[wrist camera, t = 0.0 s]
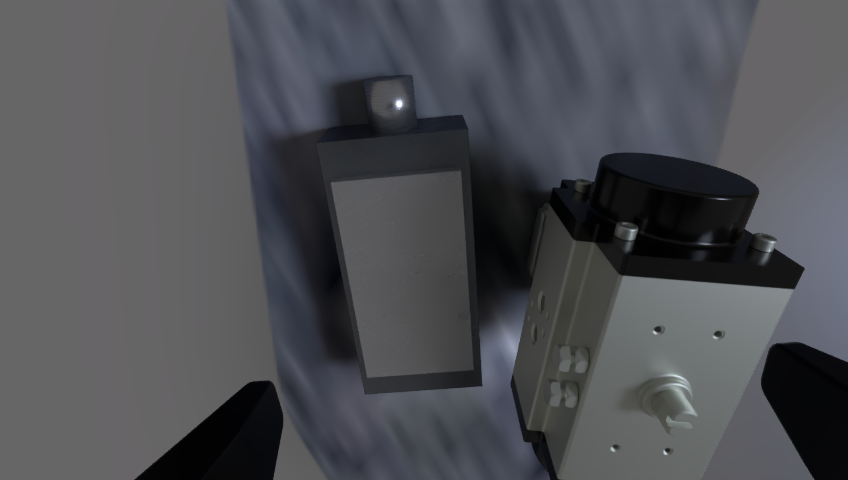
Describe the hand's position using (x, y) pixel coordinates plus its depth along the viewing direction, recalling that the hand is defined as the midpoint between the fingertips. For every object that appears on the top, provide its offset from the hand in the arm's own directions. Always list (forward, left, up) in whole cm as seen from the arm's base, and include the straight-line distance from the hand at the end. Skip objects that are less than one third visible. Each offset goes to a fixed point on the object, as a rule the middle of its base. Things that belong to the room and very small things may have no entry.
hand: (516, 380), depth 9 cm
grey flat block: (-4, +3, -15) cm, 16 cm away
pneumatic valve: (-4, -5, -15) cm, 16 cm away
